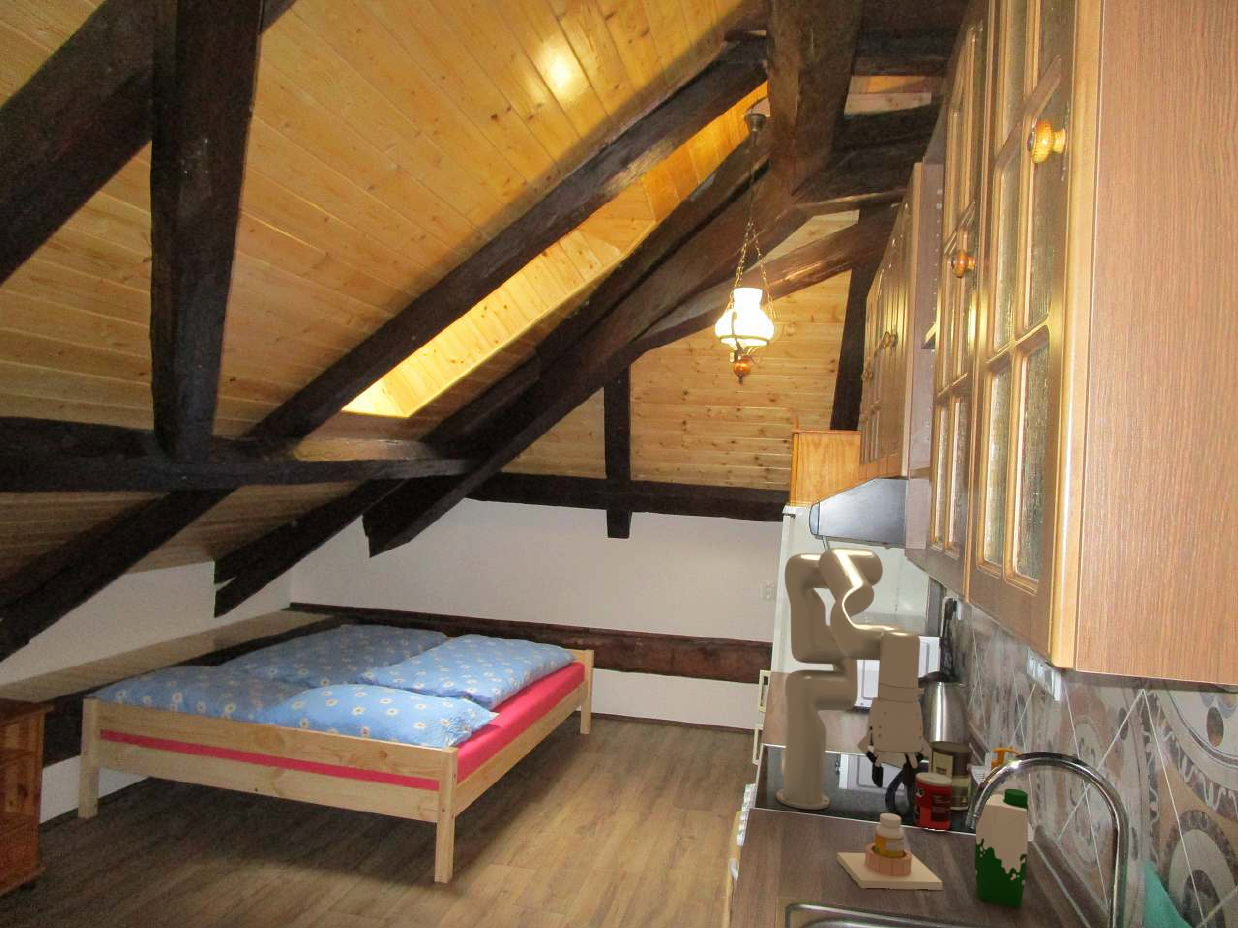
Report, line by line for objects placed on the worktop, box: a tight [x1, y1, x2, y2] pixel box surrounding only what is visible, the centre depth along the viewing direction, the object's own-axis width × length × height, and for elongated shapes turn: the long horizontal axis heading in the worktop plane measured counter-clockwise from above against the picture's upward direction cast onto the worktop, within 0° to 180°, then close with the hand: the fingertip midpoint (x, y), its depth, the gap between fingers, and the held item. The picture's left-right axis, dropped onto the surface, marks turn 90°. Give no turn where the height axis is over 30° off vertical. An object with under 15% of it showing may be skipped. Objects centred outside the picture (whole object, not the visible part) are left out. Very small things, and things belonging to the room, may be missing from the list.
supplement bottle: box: [874, 812, 905, 858], centre depth 175 cm, size 5×5×10 cm
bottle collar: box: [864, 842, 913, 876], centre depth 175 cm, size 9×9×3 cm
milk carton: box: [974, 788, 1029, 909], centre depth 168 cm, size 9×9×20 cm
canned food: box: [913, 772, 952, 831], centre depth 204 cm, size 8×8×11 cm
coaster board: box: [836, 852, 943, 891], centre depth 175 cm, size 13×16×2 cm
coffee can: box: [927, 740, 974, 811], centre depth 221 cm, size 10×10×14 cm
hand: (892, 784), depth 175 cm, fingers open, 5 cm apart
